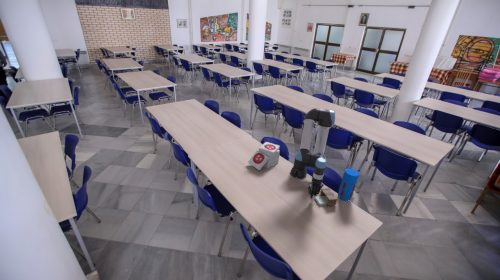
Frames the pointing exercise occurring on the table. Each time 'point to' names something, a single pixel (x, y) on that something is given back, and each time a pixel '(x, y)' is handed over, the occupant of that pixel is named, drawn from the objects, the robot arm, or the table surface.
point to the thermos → (348, 184)
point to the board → (321, 200)
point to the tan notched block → (329, 196)
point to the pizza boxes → (265, 156)
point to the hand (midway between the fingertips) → (311, 201)
